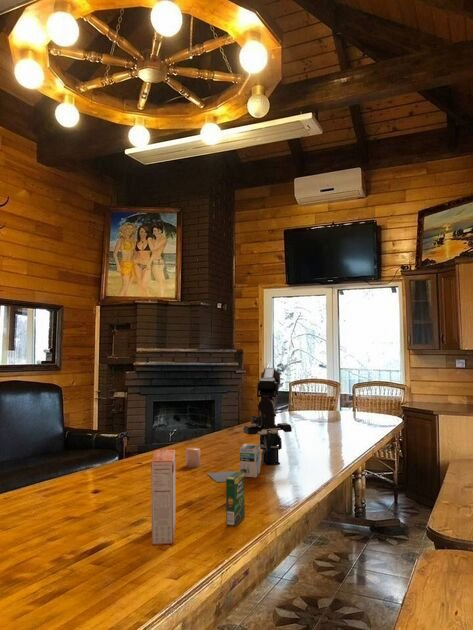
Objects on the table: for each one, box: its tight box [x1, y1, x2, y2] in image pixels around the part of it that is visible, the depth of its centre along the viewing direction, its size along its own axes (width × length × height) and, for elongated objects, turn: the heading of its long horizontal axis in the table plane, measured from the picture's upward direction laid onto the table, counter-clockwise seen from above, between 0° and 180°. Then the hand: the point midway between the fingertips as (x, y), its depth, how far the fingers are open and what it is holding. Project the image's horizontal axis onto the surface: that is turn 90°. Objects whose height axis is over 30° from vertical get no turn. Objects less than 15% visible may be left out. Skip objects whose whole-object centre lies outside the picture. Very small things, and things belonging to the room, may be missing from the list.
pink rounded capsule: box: [185, 447, 201, 469], centre depth 205 cm, size 6×6×7 cm
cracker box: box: [150, 449, 177, 546], centre depth 130 cm, size 14×6×21 cm, turn 5°
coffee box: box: [225, 471, 246, 528], centre depth 138 cm, size 8×3×13 cm, turn 159°
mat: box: [206, 470, 246, 484], centre depth 186 cm, size 11×13×1 cm
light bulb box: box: [239, 443, 262, 478], centre depth 190 cm, size 11×7×11 cm, turn 168°
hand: (267, 450), depth 193 cm, fingers closed
